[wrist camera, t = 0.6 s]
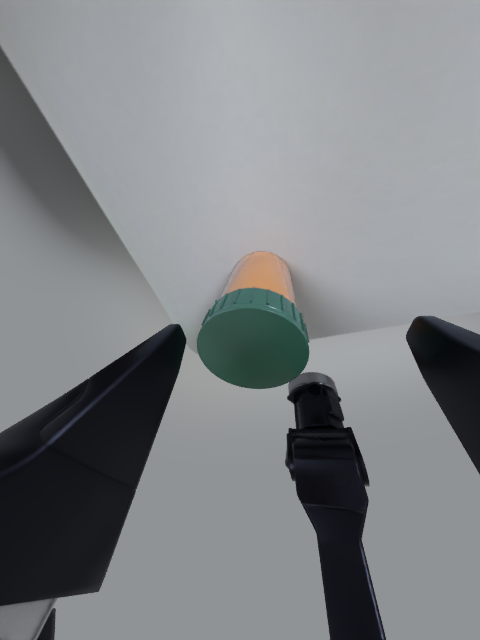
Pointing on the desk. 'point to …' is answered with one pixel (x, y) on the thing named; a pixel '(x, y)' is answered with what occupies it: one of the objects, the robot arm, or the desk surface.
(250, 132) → the desk surface
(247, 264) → the honey jar
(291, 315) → the jar lid
